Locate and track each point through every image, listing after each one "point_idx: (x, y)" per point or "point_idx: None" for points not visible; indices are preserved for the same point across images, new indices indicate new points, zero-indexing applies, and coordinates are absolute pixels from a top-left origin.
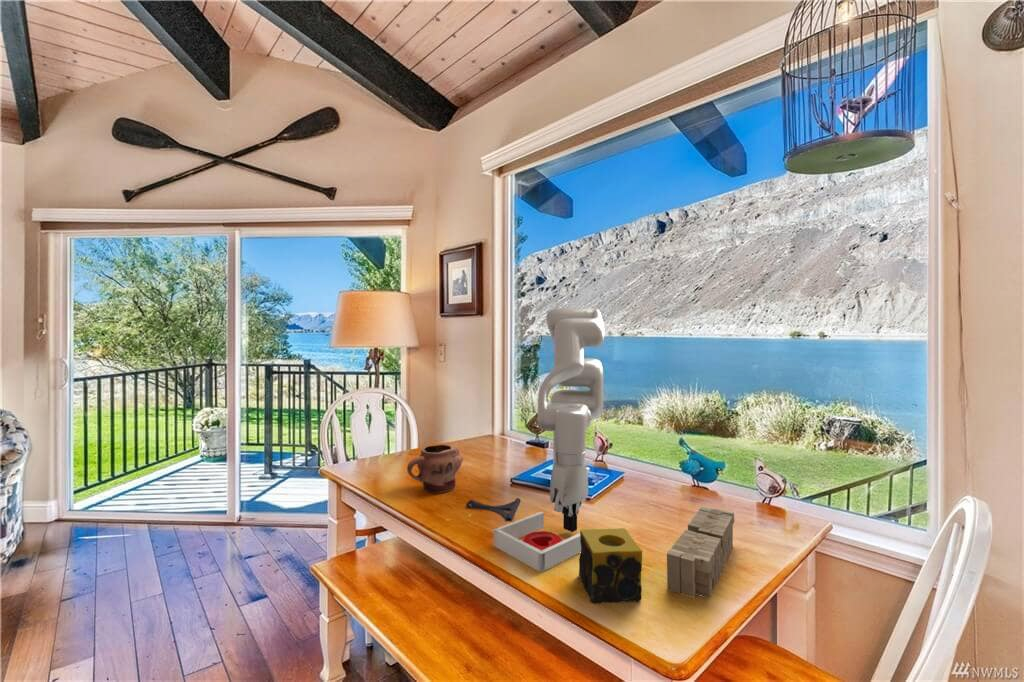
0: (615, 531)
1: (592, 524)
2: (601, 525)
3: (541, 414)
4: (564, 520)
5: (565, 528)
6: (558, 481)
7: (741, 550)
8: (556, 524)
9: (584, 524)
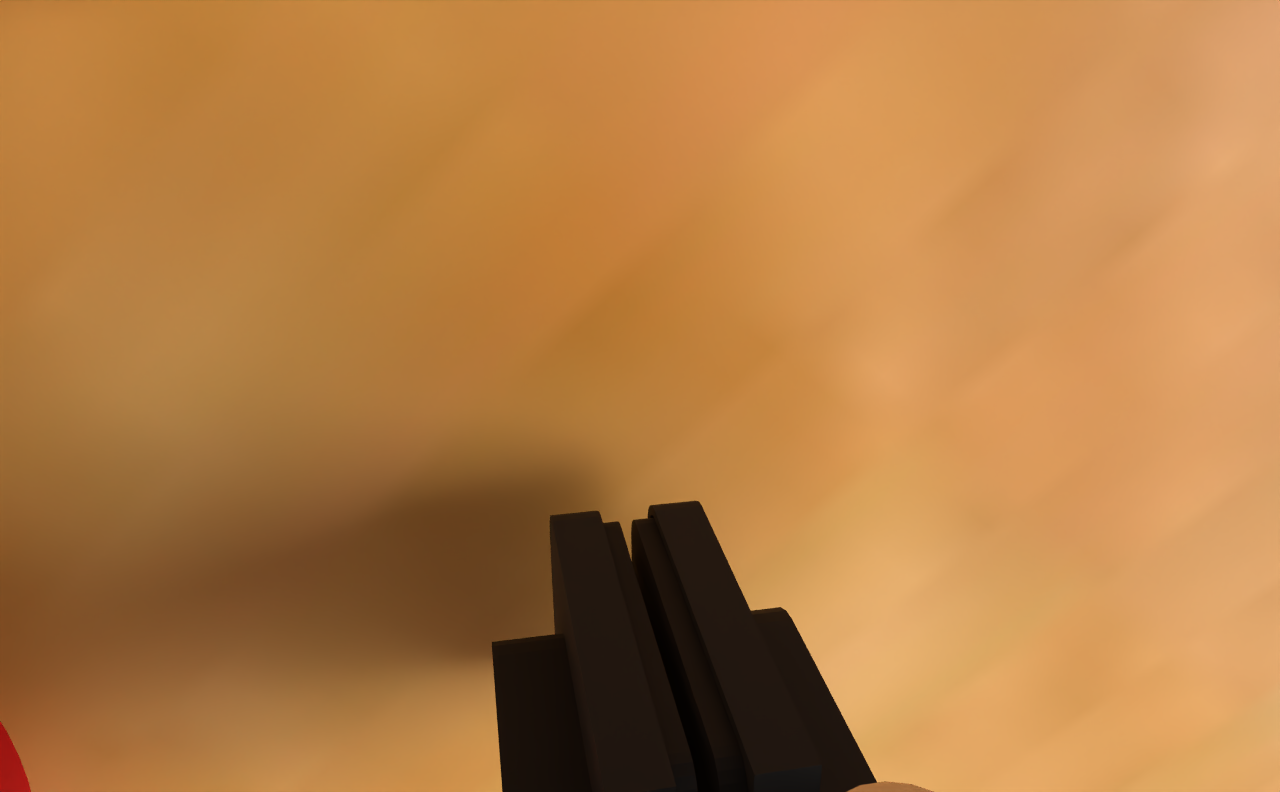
0: None
1: (1222, 506)
2: (1266, 610)
3: None
4: (502, 761)
5: (552, 569)
6: None
7: None
8: (742, 30)
9: (1141, 425)
